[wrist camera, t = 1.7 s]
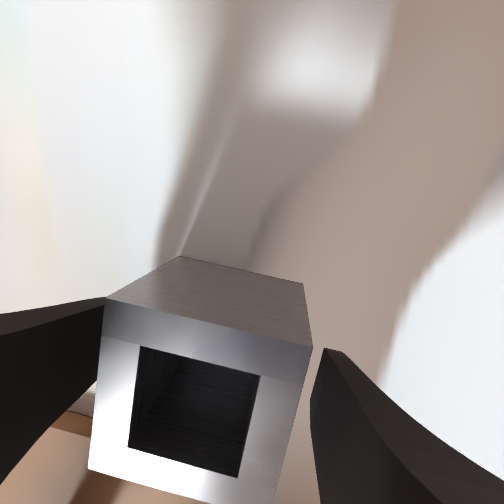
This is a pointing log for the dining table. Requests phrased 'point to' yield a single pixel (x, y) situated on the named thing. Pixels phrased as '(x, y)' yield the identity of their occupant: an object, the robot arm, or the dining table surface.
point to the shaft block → (74, 473)
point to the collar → (200, 381)
